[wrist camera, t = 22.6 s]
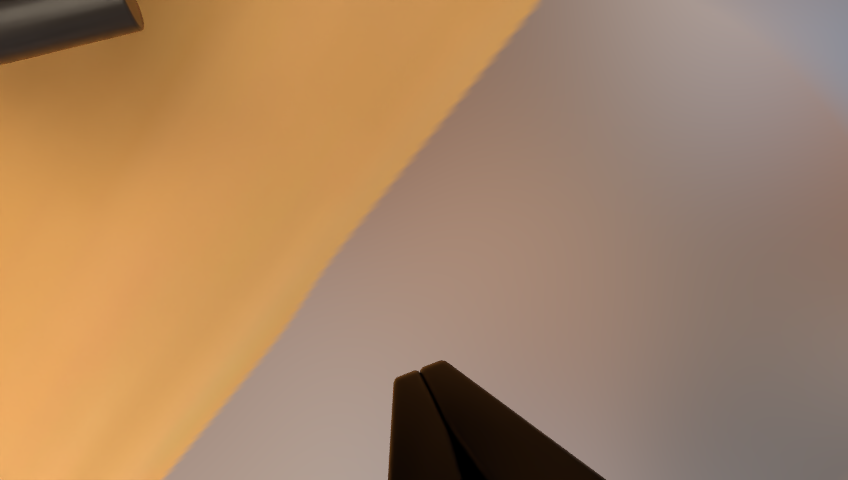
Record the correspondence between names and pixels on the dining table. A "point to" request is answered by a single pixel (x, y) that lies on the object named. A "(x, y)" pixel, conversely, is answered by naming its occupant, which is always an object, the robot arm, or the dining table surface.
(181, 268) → the dining table surface
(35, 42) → the drawer
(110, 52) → the dining table surface
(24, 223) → the dining table surface
